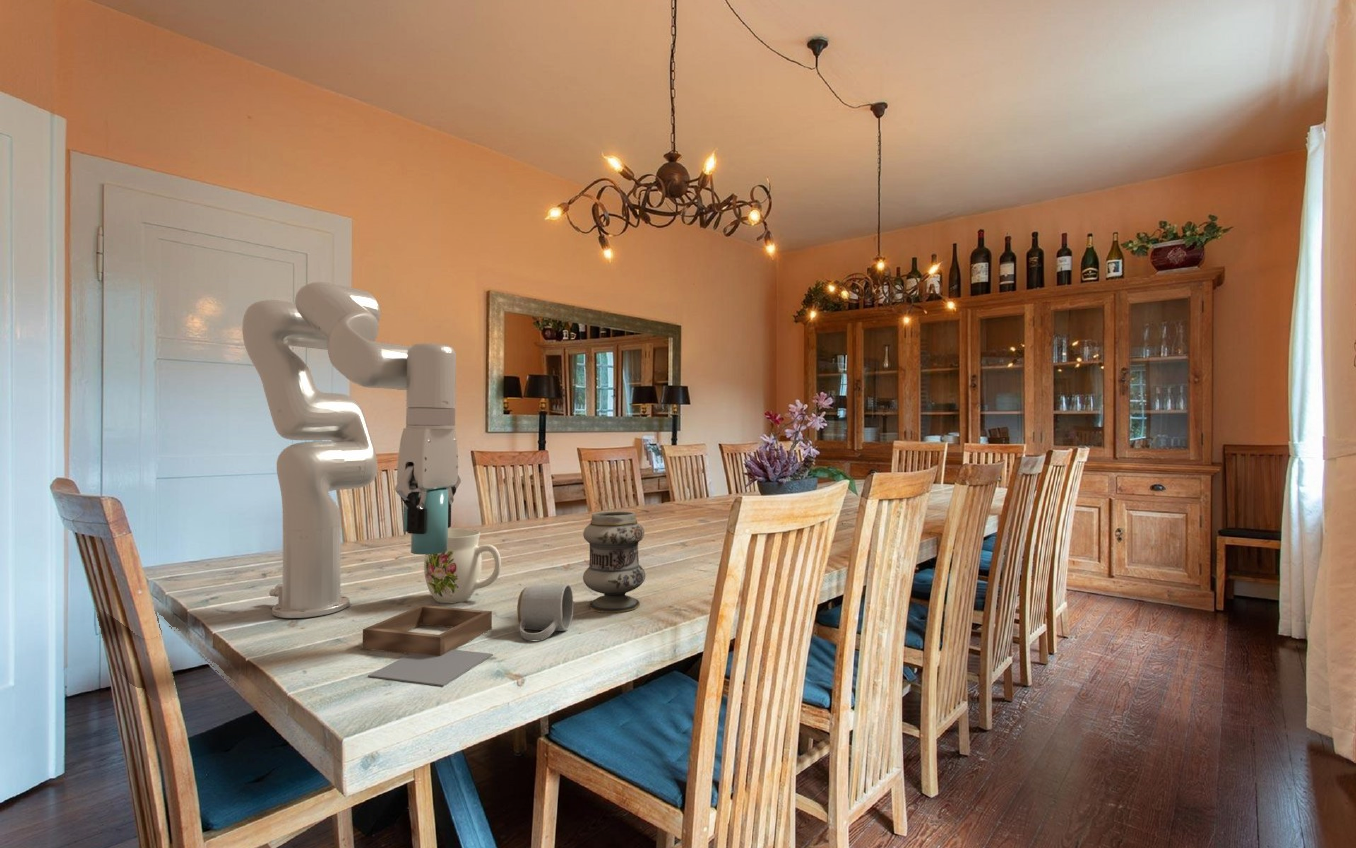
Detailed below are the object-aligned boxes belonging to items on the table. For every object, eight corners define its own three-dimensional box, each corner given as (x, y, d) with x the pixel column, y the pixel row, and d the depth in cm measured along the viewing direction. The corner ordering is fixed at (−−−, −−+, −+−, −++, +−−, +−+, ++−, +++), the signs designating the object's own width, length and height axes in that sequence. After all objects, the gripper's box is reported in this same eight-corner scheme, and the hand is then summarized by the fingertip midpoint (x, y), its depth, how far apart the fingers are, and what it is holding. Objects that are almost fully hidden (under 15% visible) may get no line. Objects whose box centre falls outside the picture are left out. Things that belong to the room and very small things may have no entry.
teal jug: (454, 549, 105) (455, 489, 105) (433, 555, 100) (434, 492, 100) (416, 546, 107) (417, 487, 107) (393, 552, 102) (394, 490, 102)
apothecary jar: (611, 594, 131) (611, 507, 131) (657, 603, 124) (658, 511, 124) (569, 607, 121) (569, 513, 121) (617, 618, 114) (617, 519, 114)
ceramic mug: (529, 621, 113) (528, 578, 112) (574, 622, 112) (574, 579, 112) (508, 642, 102) (507, 595, 102) (557, 644, 101) (557, 596, 101)
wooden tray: (362, 648, 98) (362, 629, 98) (421, 622, 112) (421, 605, 112) (440, 657, 95) (440, 637, 95) (491, 629, 108) (491, 611, 108)
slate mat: (368, 676, 87) (368, 675, 87) (424, 647, 99) (424, 646, 99) (443, 686, 84) (443, 684, 84) (492, 655, 96) (492, 653, 96)
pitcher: (488, 608, 120) (488, 536, 120) (400, 604, 123) (401, 533, 123) (511, 593, 131) (511, 527, 131) (430, 590, 134) (430, 525, 134)
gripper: (443, 420, 113) (442, 521, 113) (373, 419, 96) (372, 538, 96) (480, 420, 111) (479, 523, 111) (415, 419, 94) (414, 541, 94)
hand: (429, 529), depth 103 cm, fingers closed on teal jug, 5 cm apart
